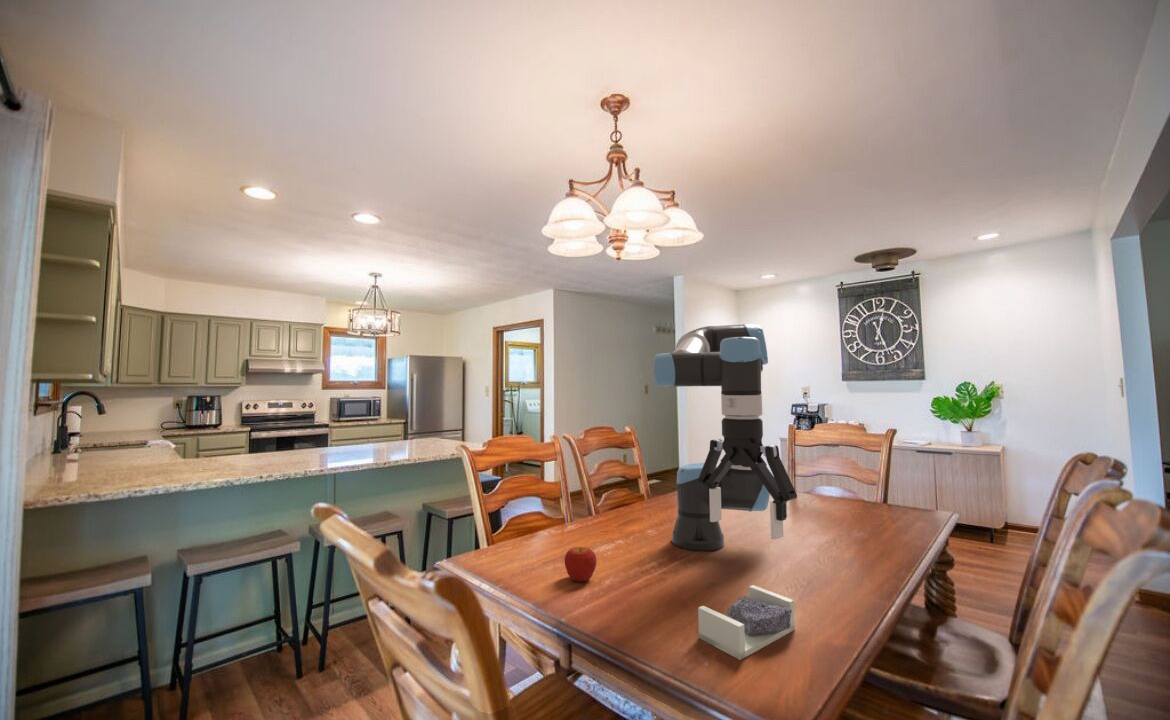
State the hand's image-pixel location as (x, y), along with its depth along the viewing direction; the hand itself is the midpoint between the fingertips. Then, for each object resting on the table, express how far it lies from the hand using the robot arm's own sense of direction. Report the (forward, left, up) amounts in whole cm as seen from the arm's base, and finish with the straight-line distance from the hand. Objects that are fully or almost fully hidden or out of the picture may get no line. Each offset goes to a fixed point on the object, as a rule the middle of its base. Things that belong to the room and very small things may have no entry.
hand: (744, 528), depth 91 cm
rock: (0, +2, -19) cm, 19 cm away
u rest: (0, 0, -19) cm, 19 cm away
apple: (-40, -10, -20) cm, 46 cm away
